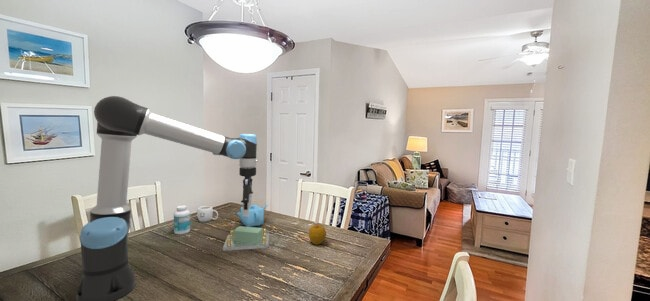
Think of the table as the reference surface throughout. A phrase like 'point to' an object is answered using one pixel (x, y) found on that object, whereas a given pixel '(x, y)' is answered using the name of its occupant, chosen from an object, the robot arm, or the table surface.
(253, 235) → the pale green block
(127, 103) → the robot arm
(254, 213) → the teapot
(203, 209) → the mug
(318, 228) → the apple
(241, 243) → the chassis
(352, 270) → the table surface
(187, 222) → the pill bottle
